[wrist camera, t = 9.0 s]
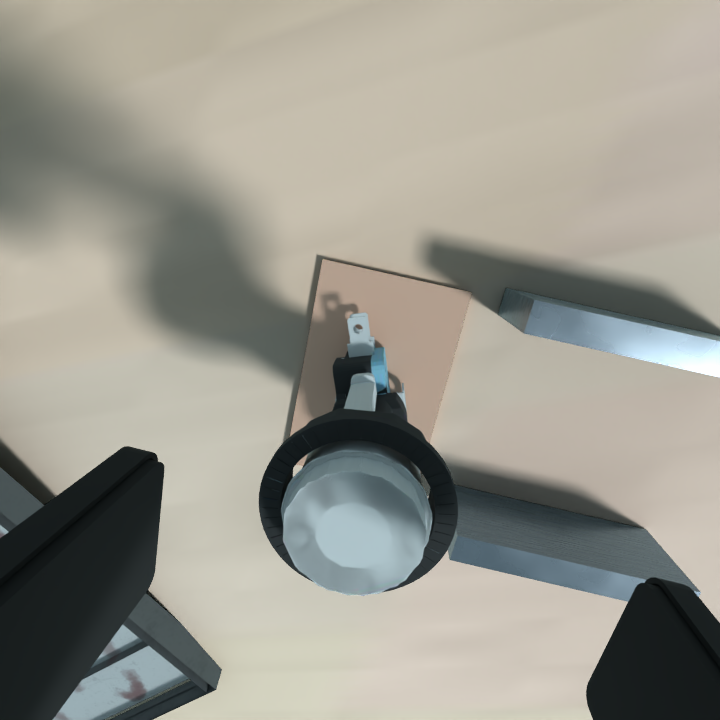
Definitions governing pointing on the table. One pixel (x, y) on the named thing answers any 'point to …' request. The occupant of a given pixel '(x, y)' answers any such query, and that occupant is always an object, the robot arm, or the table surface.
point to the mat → (382, 338)
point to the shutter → (128, 650)
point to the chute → (564, 528)
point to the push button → (359, 485)
